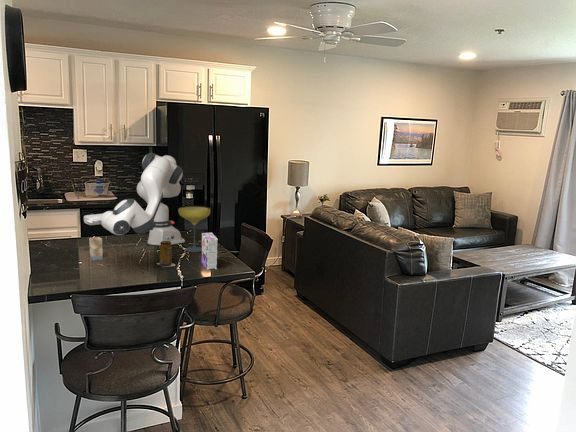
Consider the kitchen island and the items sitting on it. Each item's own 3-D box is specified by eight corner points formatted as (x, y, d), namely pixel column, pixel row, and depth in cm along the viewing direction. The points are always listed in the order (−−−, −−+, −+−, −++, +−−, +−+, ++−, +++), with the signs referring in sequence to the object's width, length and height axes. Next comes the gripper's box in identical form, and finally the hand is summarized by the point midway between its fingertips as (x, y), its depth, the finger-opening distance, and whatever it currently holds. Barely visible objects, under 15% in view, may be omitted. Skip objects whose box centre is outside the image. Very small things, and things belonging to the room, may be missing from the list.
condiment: (169, 261, 242) (169, 239, 240) (176, 265, 236) (176, 243, 234) (156, 263, 238) (155, 241, 235) (163, 267, 231) (162, 244, 229)
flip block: (102, 238, 240) (102, 258, 242) (99, 236, 243) (99, 256, 245) (92, 239, 236) (92, 260, 238) (89, 237, 240) (90, 258, 242)
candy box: (201, 262, 243) (201, 232, 240) (212, 261, 245) (212, 232, 242) (206, 270, 230) (206, 238, 227) (217, 269, 232) (218, 238, 229)
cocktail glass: (212, 252, 263) (213, 210, 259) (181, 254, 256) (181, 210, 252) (206, 245, 280) (206, 205, 275) (176, 246, 273) (176, 205, 268)
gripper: (88, 229, 211) (80, 223, 222) (132, 224, 224) (122, 218, 234) (87, 216, 210) (79, 210, 221) (131, 211, 222) (122, 206, 233)
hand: (102, 214), depth 227 cm, fingers open, 8 cm apart
